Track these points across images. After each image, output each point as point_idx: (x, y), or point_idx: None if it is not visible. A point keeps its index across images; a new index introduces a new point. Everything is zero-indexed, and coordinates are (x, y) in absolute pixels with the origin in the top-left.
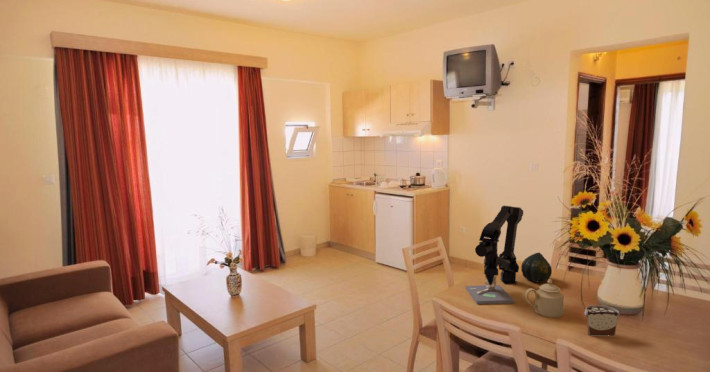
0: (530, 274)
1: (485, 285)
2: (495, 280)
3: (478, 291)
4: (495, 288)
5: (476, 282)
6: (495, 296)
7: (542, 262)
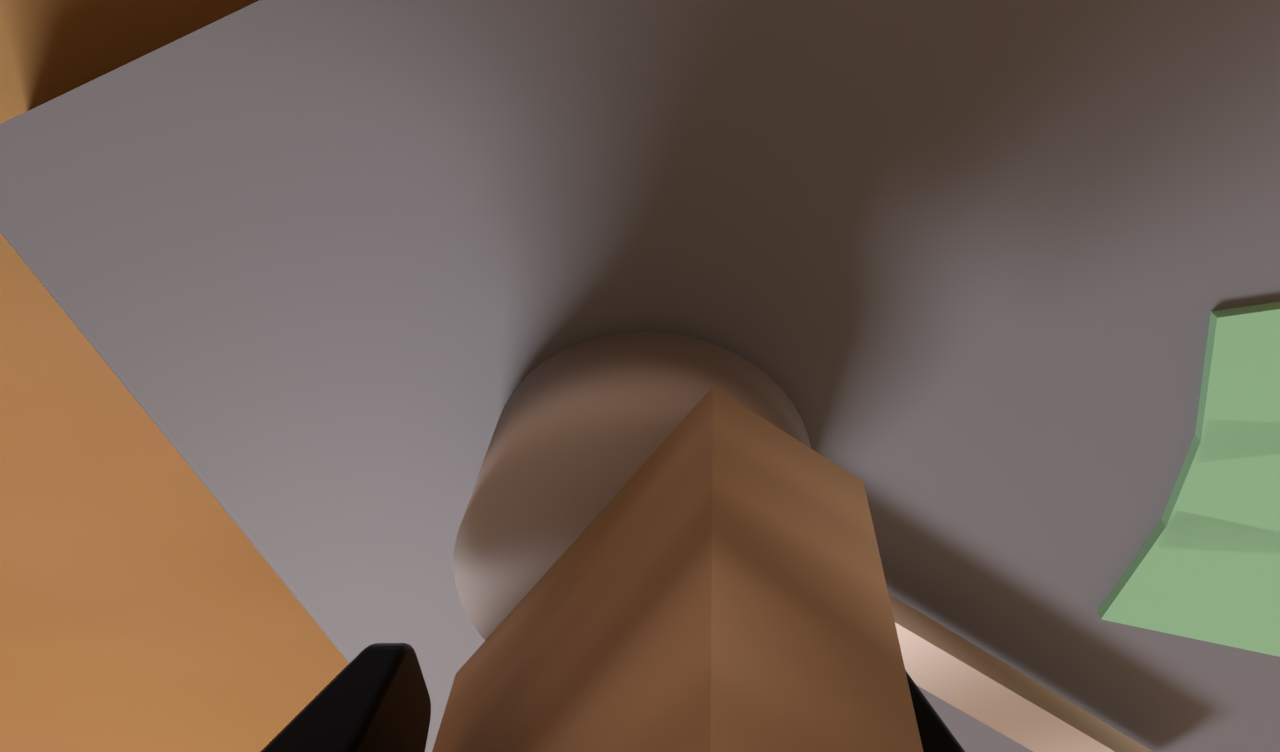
0: None
1: (302, 590)
2: (774, 687)
3: None
4: (441, 300)
5: (29, 698)
6: None
7: None
